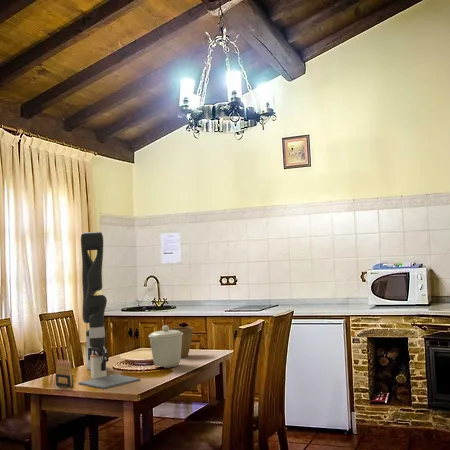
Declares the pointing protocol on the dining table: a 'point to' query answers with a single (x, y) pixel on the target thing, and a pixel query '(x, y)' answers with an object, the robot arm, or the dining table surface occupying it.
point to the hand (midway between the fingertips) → (98, 370)
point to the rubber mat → (109, 381)
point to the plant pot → (185, 339)
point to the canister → (166, 347)
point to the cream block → (96, 367)
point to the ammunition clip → (64, 373)
